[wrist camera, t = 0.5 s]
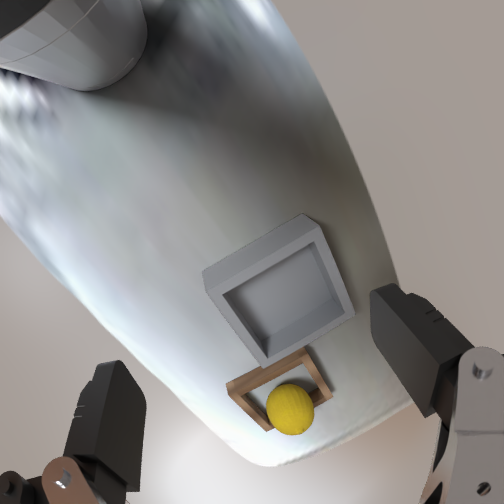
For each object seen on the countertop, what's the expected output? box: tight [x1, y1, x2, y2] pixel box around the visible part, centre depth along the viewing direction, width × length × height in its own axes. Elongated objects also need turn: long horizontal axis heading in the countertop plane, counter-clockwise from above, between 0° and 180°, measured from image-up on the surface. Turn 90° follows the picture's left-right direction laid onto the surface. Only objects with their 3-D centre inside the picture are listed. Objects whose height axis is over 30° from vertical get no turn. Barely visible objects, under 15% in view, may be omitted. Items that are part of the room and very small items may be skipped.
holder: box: [202, 213, 356, 369], centre depth 30 cm, size 11×11×4 cm
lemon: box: [266, 384, 314, 435], centre depth 35 cm, size 6×6×8 cm
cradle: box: [226, 346, 333, 432], centre depth 37 cm, size 10×10×2 cm
